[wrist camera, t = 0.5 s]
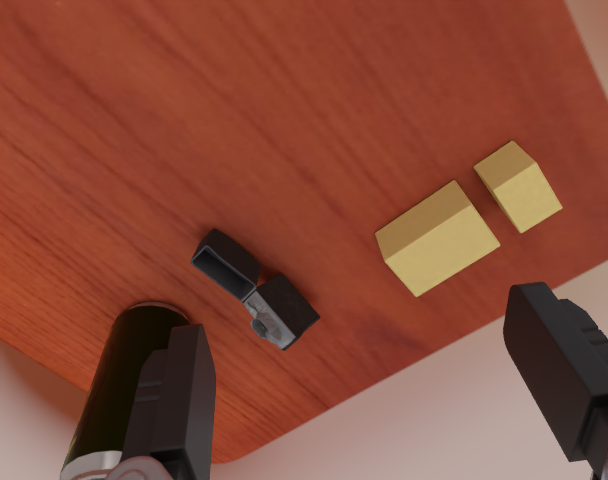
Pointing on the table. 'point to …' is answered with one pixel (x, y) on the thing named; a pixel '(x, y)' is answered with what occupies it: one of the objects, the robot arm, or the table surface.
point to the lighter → (255, 290)
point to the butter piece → (518, 186)
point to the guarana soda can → (117, 388)
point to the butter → (435, 239)
